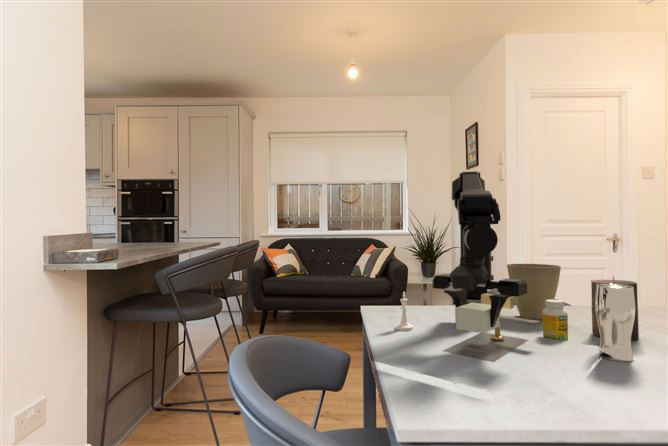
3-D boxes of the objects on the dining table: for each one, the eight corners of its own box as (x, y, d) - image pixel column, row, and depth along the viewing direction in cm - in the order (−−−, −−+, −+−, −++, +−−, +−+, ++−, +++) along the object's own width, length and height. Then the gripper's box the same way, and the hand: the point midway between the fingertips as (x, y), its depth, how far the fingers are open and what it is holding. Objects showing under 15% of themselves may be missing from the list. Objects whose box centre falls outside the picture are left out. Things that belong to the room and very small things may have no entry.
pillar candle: (640, 343, 96) (639, 279, 96) (591, 337, 101) (590, 277, 101) (636, 334, 104) (635, 275, 104) (591, 329, 109) (590, 273, 110)
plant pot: (572, 322, 117) (571, 267, 118) (520, 322, 118) (519, 267, 118) (545, 312, 132) (545, 262, 133) (499, 312, 133) (499, 263, 133)
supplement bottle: (550, 336, 103) (549, 298, 103) (572, 341, 98) (571, 301, 99) (538, 339, 100) (537, 300, 100) (560, 344, 95) (560, 303, 96)
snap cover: (456, 328, 87) (455, 307, 87) (472, 322, 93) (472, 302, 93) (484, 333, 83) (483, 311, 83) (499, 326, 88) (498, 305, 89)
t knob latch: (534, 348, 88) (533, 301, 88) (480, 337, 97) (479, 294, 97) (540, 345, 90) (539, 299, 90) (486, 334, 99) (486, 293, 99)
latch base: (442, 356, 87) (442, 350, 87) (482, 336, 103) (482, 332, 103) (493, 368, 80) (493, 361, 80) (528, 345, 95) (528, 339, 95)
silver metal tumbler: (588, 352, 89) (587, 283, 89) (618, 351, 90) (617, 283, 90) (612, 363, 82) (611, 288, 82) (644, 361, 83) (643, 287, 83)
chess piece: (414, 327, 113) (414, 291, 114) (412, 331, 109) (411, 293, 109) (397, 326, 115) (396, 290, 115) (393, 330, 110) (393, 293, 110)
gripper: (419, 252, 88) (420, 324, 88) (507, 255, 76) (509, 340, 75) (443, 249, 96) (444, 316, 96) (527, 252, 84) (528, 328, 84)
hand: (477, 324), depth 88 cm, fingers closed on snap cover, 6 cm apart
